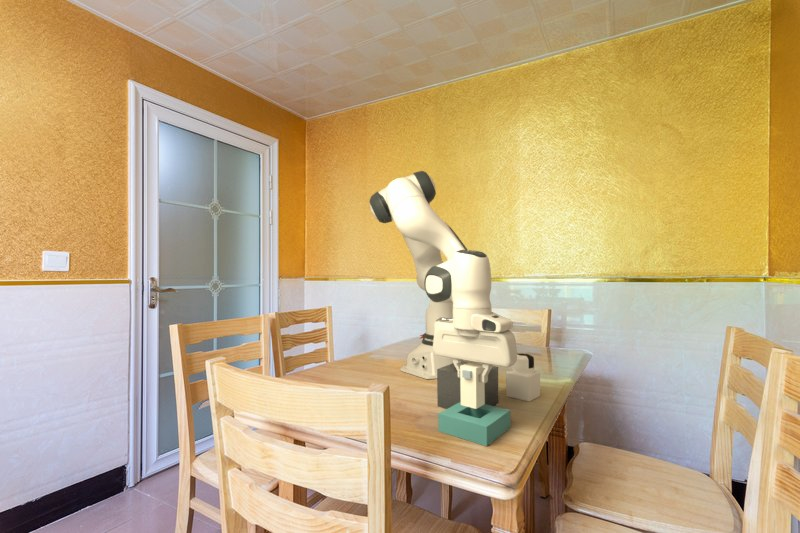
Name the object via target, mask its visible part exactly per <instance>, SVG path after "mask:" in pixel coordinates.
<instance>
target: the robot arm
mask: <svg viewBox="0 0 800 533" xmlns="http://www.w3.org/2000/svg"><path fill="white" fill-rule="evenodd" d="M436 190H437V188H436V184H435V182H434V179H433V178H432V177H431V176H430V175H429V174H428V173H427V172H426V171H424V170H420V171H416V172H413V174H409V175H407V176H403V177H396V178H394V179H393V180H391V181H390V182H389V183H388V185H387V186H385V187H384V188H382V189H381V190H380V191H376V192H375V193H373V194H372V195H371V197H370V198H369V209H370V212H371V214H372V216H373V217H374V218H375V220H377V221H378V222H379V223H381V224H388V223H391V222H394V224H395V227H396V228H397V230H398V231H399V232H400V233H401V235H402V237H403V239H404V241H405V244H406V246H407V248H408V249H409V253H411V257H412V260H413V263H414V266H415V271H416V283H417V286H418V287H419V288H420V289H421V290H423V291H424V292H425V294H426V295H427V297H428V299H429V300H430V301H429V305H428V307H427V308H426V311H425V332H424V333H423V334H420V335H419V339H422V340H421V343H420V344H418V345H417V346H416V347H415V348H414V349H412V350H411V351H410V352H409V353H408V355H407V357H406V364H404V365H402V366H401V367H400V371H401V372H404V373H406V374H408V375H412V376H415V377H419V378H422V379H425V380H433V379H434V380H435V379H437V369H439V368H442V367H444V366H447V365H450V364H452V363H454V365H455V367H456V369H457V370H458V378H460V366H461V365H462V364H461V362H463V361H466V362H472V363H478V364H483V368H485V369H484V371H483V373H481V374H479V375H478V378H479V379H478V381H479V382H482V383H486V382H487V381H488V374H489V372H490V370H491V369H492V367H493V366H496V367H505V368H510V367H512V365H514V364H515V363H516V361H517V354H518V351H517V342H516V341H517V340H516V337H515V336H516V335H515V334H514V333H513V332H512V331H511V330H512V328H513V327H514V326H513V323H514V322H513V321H512V320H511V319H510V318H507V317H505V316H504V315H503V316H502V315H500V314H497V313H496V312H493V310H492V303H491V299H490V298H491V297H490V295H491V291H492V270H491V263H490V261H489V257H488V254H486V253H485V252H483V251H479V250H473V249H472V250H471V249H468V248H467V247H466V245H465V244H464V243H463V241H462V240H461V238H460V237H459V236H458V234H456V232H455V230H453V228H451V227H450V225H449V224H448V223H446V222H445V221H444V220H443V219H442V218H441V217H440V216H439V215H438V214H437V212H436V211H435V210H434V209H433V208H432V206H431V205H430V203H432V201H434V200H435V197H436V194H437V192H436ZM441 253H442V254H443V255H444V256H445V258H446V261H443V259H442V254H441Z"/></svg>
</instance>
